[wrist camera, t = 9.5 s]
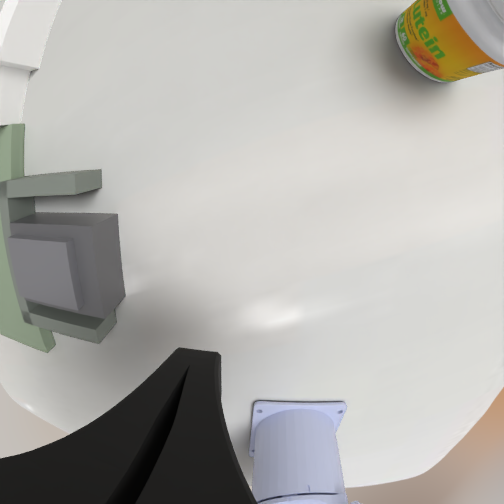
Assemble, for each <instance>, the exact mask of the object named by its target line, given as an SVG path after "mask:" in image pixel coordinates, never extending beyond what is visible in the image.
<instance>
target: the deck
mask: <svg viewBox="0 0 504 504" xmlns="http://www.w3.org/2000/svg"><path fill="white" fill-rule="evenodd" d="M24 128H25V124H10V125H7V126H4V127H2V128H0V333H1V335H4V336H6V337H8V338H10V339H13V340H15V341H18V342H20V343H22V344H25V345H27V346H30V347H32V348H35V349H38V350H40V351H43V352H46V353H48V352H49V351H50V350H51V349H52V348H53V347H54V346H55V345H56V344H55V341H54V339H53V336H52V332H51V331H53V332H56V333H60V334H63V335H67V336H70V337H74V338H78V339H81V340H85V341H89V342H93V343H97V344H100V342H101V341H102V340H103V339H104V337H105V336H106V335H107V334H108V332H109V331H110V330H111V329H112V327H113V326H114V325H115V324H116V322H117V321H116V316H115V310H114V309H113V311H112V312H111V313H110V314H109V315H108V316H107V317H106V319H103V318H98V317H93V316H88V315H83V314H79V313H74V312H70V311H66V310H62V309H57V308H53V307H49V306H45V305H42V304H38V303H34V302H30V301H27V300H25V299H24V297H21V296H20V295H19V291H18V287H17V283H16V279H15V275H14V271H13V266H12V261H11V256H10V251H9V245H8V239H7V238H8V237H10V236H11V231H10V224H9V223H11V222H13V221H16V220H18V219H21V218H24V217H26V216H29V215H32V214H34V213H35V205H34V196H51V195H76V194H79V193H83V192H87V191H90V190H94V189H98V188H101V187H102V183H101V169H100V170H84V171H71V172H60V173H50V174H41V175H32V176H24Z"/></svg>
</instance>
